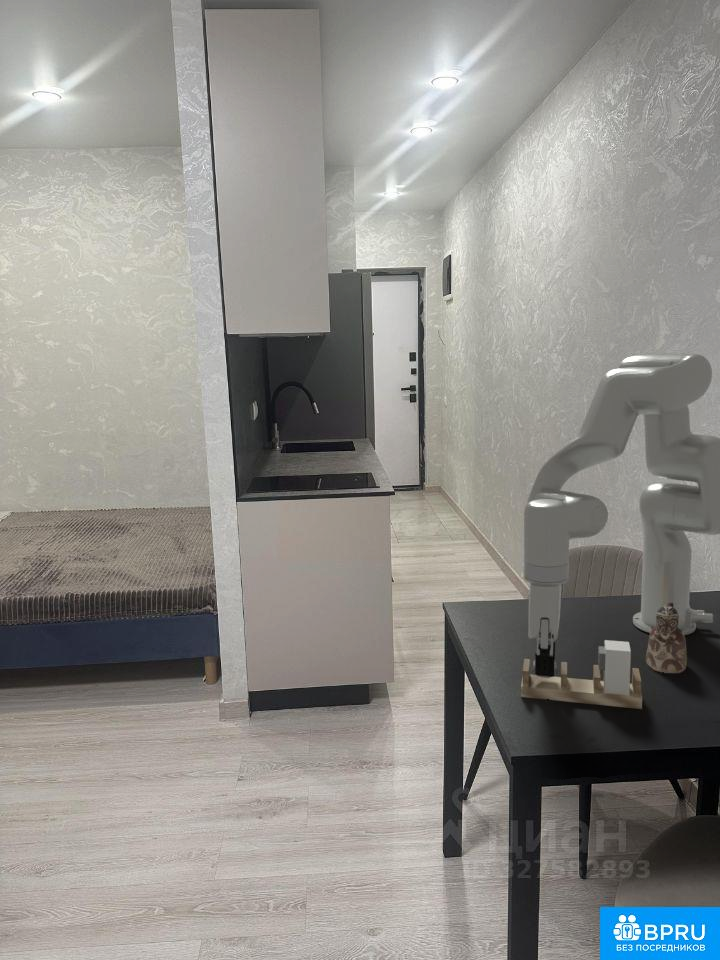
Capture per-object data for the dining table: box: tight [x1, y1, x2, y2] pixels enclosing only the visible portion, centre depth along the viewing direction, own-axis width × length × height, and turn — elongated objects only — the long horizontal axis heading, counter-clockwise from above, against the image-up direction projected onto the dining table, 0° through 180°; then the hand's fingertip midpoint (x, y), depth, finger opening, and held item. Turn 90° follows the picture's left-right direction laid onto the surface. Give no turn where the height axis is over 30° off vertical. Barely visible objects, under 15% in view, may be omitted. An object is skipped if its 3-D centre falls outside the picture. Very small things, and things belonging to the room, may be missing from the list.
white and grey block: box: [597, 639, 632, 695], centre depth 120 cm, size 5×4×8 cm
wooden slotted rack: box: [520, 658, 643, 710], centre depth 122 cm, size 20×5×5 cm, turn 74°
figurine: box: [645, 602, 688, 674], centre depth 132 cm, size 7×7×12 cm
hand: (545, 668), depth 124 cm, fingers closed on rook chess piece, 4 cm apart
